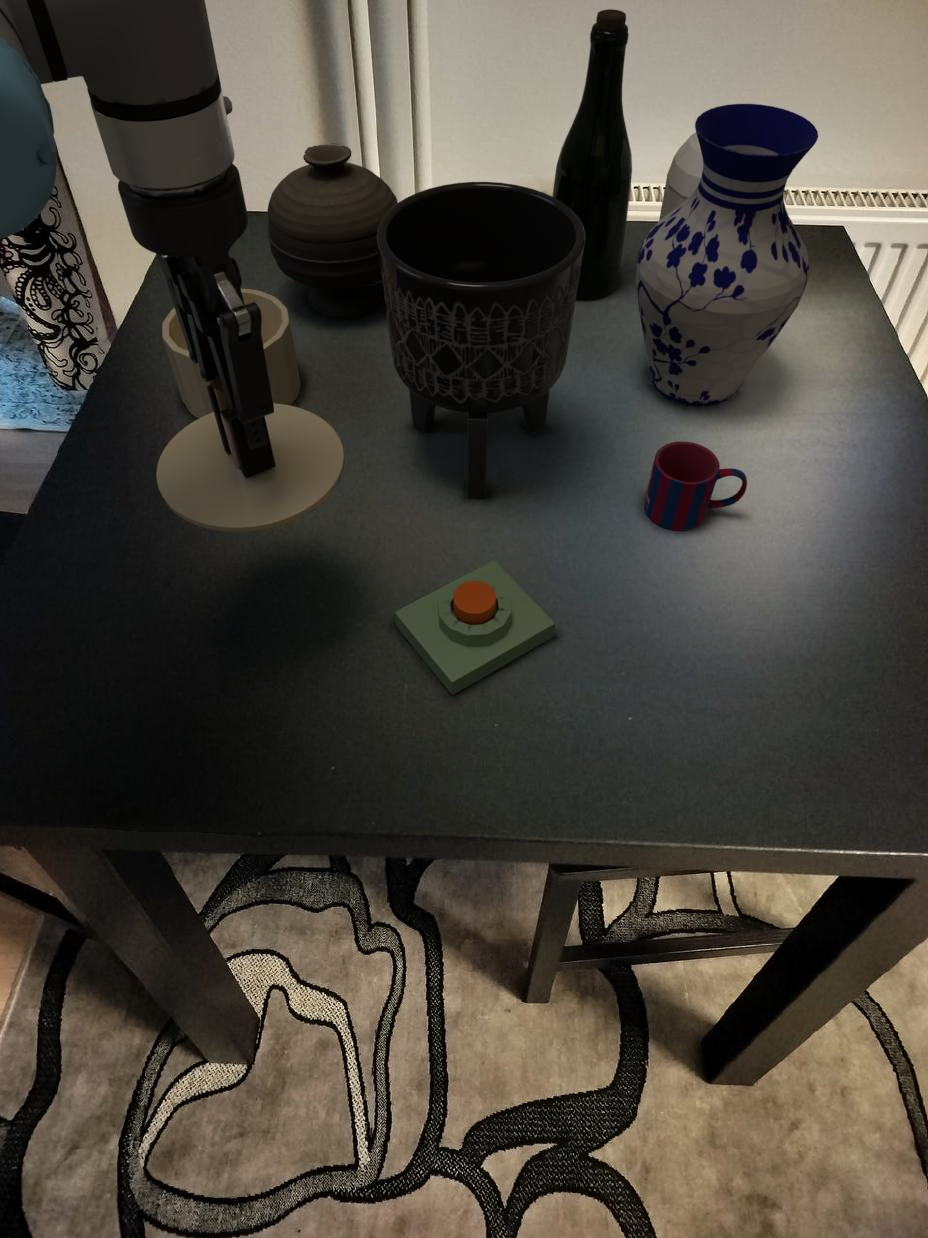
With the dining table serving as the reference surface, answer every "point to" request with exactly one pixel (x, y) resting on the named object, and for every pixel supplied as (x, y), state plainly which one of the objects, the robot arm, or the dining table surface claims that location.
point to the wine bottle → (599, 158)
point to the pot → (330, 230)
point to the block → (474, 629)
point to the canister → (275, 349)
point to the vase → (725, 257)
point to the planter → (480, 302)
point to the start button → (474, 602)
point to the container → (682, 175)
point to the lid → (226, 500)
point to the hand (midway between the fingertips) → (249, 457)
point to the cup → (686, 485)
